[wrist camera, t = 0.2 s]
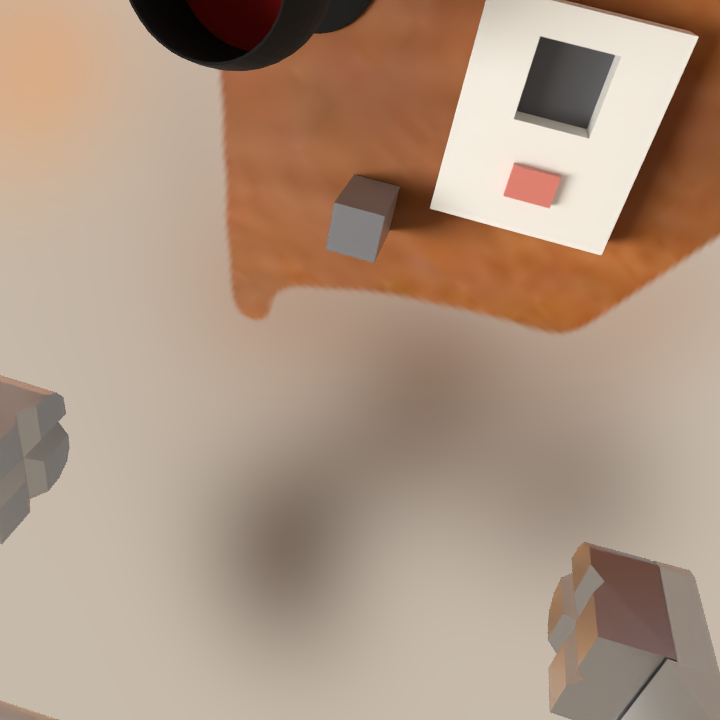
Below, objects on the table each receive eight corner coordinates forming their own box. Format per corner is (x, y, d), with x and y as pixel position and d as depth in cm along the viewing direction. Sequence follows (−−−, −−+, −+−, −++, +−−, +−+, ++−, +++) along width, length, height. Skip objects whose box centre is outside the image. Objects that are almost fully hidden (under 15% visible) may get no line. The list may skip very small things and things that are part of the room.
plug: (354, 174, 56) (334, 202, 51) (399, 186, 56) (384, 216, 50) (345, 217, 59) (325, 249, 53) (389, 229, 58) (374, 263, 53)
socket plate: (492, -18, 47) (489, -15, 44) (690, 30, 46) (701, 38, 43) (434, 196, 56) (428, 212, 53) (598, 240, 55) (602, 259, 52)
